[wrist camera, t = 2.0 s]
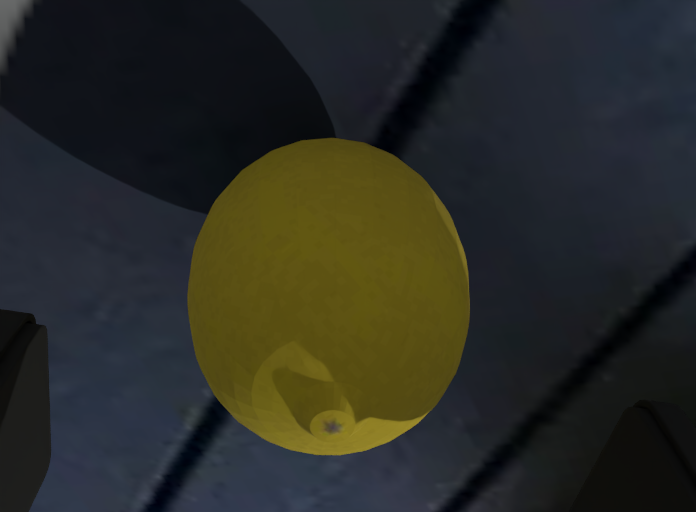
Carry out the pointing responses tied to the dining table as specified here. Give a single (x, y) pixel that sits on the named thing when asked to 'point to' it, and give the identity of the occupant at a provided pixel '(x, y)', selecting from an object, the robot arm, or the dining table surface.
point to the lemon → (328, 297)
